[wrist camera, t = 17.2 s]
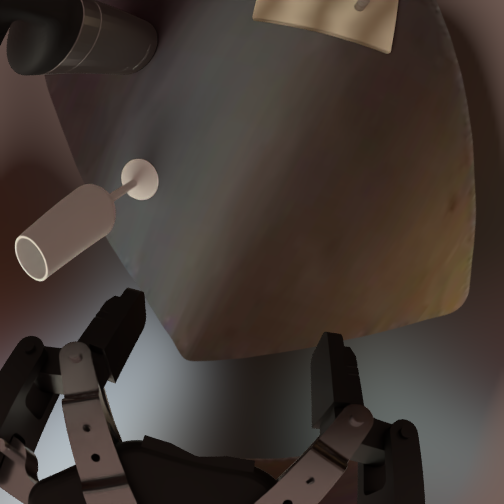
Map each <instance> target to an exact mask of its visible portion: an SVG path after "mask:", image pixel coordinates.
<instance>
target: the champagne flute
mask: <svg viewBox="0 0 504 504" xmlns="http://www.w3.org/2000/svg"><path fill="white" fill-rule="evenodd" d="M121 180H122V185H123V186H121V187H120V188H118V189H116V190H115V191H113V192H112V193H110V194H109V193H108V192H107V191H106V190H105V189H103V188H101V187H100V186H97V185H93V184H86V185H82V186H80V187H78V188H77V189H75V190H74V191H73V192H71V193H70V194H69V195H68V196H66V197H65V198H64V199H62V200H61V201H60V202H59V203H57V204H56V205H55V206H54V207H52V208H51V209H50V210H49V211H47V212H46V213H45V214H44V215H43V216H42V217H40V218H39V219H38V220H37V221H36V222H34V223H33V224H32V225H31V226H30V227H29V228H28V229H27V230H25V231H24V232H23V233H22V234H21V235H20V236H19V237H18V238H17V239H16V242H15V251H16V255H17V258H18V261H19V263H20V265H21V266H22V268H23V269H24V271H26V273H27V274H28V275H29V276H30V277H32V278H33V279H35V280H37V281H43V280H45V279H46V278H47V277H49V276H50V275H51V274H53V273H54V272H55V271H56V270H58V269H59V268H61V267H62V266H63V265H64V264H66V263H67V262H69V261H70V260H71V259H73V258H74V257H75V256H77V255H78V254H80V253H81V252H82V251H84V250H85V249H86V248H88V247H89V246H91V245H92V244H93V243H95V242H96V241H98V240H99V239H101V238H102V237H104V236H105V235H107V234H108V233H109V232H110V231H111V229H112V227H113V225H114V222H115V216H116V210H115V204H114V201H115V200H116V199H118V198H119V197H121V196H122V195H124V194H125V193H128V194H129V195H130V196H131V197H133V198H135V199H138V200H146V199H149V198H150V197H152V196H153V195H154V194H155V192H156V191H157V188H158V184H159V179H158V174H157V172H156V170H155V168H154V167H153V166H152V164H150V163H149V162H148V161H146V160H143V159H134V160H131V161H130V162H128V163H127V164H126V165H125V167H124V168H123V171H122V176H121Z"/></svg>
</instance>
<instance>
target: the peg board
mask: <svg viewBox="0 0 504 504" xmlns="http://www.w3.org/2000/svg"><path fill="white" fill-rule="evenodd" d="M397 8H398V0H256V4H255V8H254V13H253V17H252V18H253V20H254V21H261V22H268V23H274V24H280V25H286V26H292V27H297V28H301V29H306V30H310V31H315V32H319V33H323V34H327V35H331V36H334V37H338V38H341V39H345V40H348V41H351V42H354V43H357V44H361V45H363V46H366V47H369V48H372V49H375V50H378V51H380V52H383V53H386V54H388V53H391V47H392V42H393V35H394V29H395V22H396V15H397Z"/></svg>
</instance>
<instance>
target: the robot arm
mask: <svg viewBox="0 0 504 504" xmlns="http://www.w3.org/2000/svg"><path fill="white" fill-rule="evenodd" d="M9 27H10V29H9ZM8 29H9V34H8V39H7V57H8V62H9V64H10V66H11V68H12V69H13V70H14V71H15V72H16V73H18V74H21V75H43V74H62V73H95V74H117V75H128V74H132V73H135V72H137V71H139V70H140V69H142V68H143V67H144V66H145V65H146V64H147V63H148V62H149V61H150V60H151V58H152V57H153V55H154V53H155V50H156V47H157V33H156V30H155V28H154V27H153V26H152V25H151V24H150V23H149V22H147V21H145V20H143V19H141V18H138V17H136V16H134V15H132V14H129V13H127V12H125V11H122V10H120V9H117V8H115V7H112V6H110V5H107V4H104V3H101V2H99V1H96V0H0V45H1V43H2V41H3V39H4V37H5V35H6V33H7V31H8ZM145 322H146V309H145V296H144V292H142V291H139V290H135V289H131V288H127V289H126V290H125V291H124V292H123V294H122V295H121V296H120V297H118V296H114V297H112V298H111V299H109V300H108V301H106V302H105V304H104V305H103V306H102V308H101V309H100V311H99V312H98V313H97V314H96V317H95V318H94V319H93V320H92V321H91V323H90V324H89V326H88V327H87V329H86V330H85V331H84V333H83V334H82V336H81V337H80V339H79V340H78V341H77V342H70V343H68V344H66V345H65V346H64V347H63V348H54V347H46V346H44V345H43V342H42V341H41V340H40V339H39V338H37V337H35V336H28V337H25V338H23V339H22V340H21V341H20V342H19V343H18V344H17V346H16V347H15V349H14V350H13V352H12V353H11V355H10V356H9V358H8V359H7V361H6V363H5V364H4V366H3V367H2V369H1V371H0V487H1V488H2V489H3V490H5V491H6V492H8V493H9V494H10V495H12V496H13V497H15V498H16V499H18V500H19V501H21V502H22V503H24V504H318V503H319V502H320V501H321V499H322V498H323V497H324V496H325V495H326V494H327V492H328V491H329V490H330V489H331V488H332V486H333V485H334V484H335V483H336V481H337V480H338V479H339V478H340V476H341V475H342V474H343V473H344V471H345V470H346V468H347V466H348V464H347V463H348V461H349V460H353V461H356V462H358V497H357V504H425V494H424V480H423V470H422V460H421V452H420V444H419V437H418V432H417V429H416V427H415V426H414V424H413V423H411V422H410V421H408V420H404V419H402V420H397V421H396V422H394V423H393V424H389V423H386V422H383V421H380V420H377V419H375V418H373V415H372V414H371V412H370V410H369V409H368V408H366V407H365V406H364V403H363V396H362V390H361V384H360V378H359V372H358V368H357V360H356V356H355V354H354V353H353V351H352V350H351V348H350V347H345V346H344V343H343V337H342V335H341V334H337V333H330V332H324V333H323V335H322V337H321V339H320V341H319V343H318V345H317V347H316V349H315V351H314V353H313V356H312V359H311V396H312V397H311V398H312V428H316V429H320V436H319V437H318V438H317V439H316V440H315V441H314V442H313V443H312V444H311V446H310V447H309V448H308V449H307V450H306V451H305V452H304V453H303V454H302V455H301V456H300V457H299V458H298V459H297V460H296V461H295V462H294V463H293V464H292V465H291V466H290V467H289V468H288V469H287V470H286V471H285V472H284V473H283V474H282V475H281V476H280V477H279V478H278V479H276V480H275V479H274V478H273V477H272V476H271V475H270V474H268V473H266V472H265V471H263V470H261V469H259V468H257V467H254V463H255V461H253V460H246V459H240V458H233V457H228V456H226V457H225V456H224V457H198V456H194V455H193V454H191V453H189V452H187V451H184V450H183V449H181V448H179V447H177V446H175V445H173V444H171V443H169V442H165V441H162V440H159V439H155V438H152V437H149V436H146V435H145V436H144V439H143V441H142V440H132V441H125V442H122V440H121V437H120V435H119V432H118V430H117V427H116V425H115V422H114V419H113V416H112V413H111V409H110V406H109V402H108V399H107V395H106V392H105V388H104V386H105V384H106V382H107V380H108V381H111V382H113V383H116V381H117V379H118V377H119V375H120V373H121V371H122V369H123V367H124V365H125V363H126V361H127V359H128V357H129V355H130V353H131V351H132V350H133V347H134V346H135V343H136V342H137V340H138V338H139V336H140V334H141V333H142V331H143V329H144V326H145ZM60 394H63V395H64V399H62V408H63V413H64V418H65V423H66V428H67V432H68V436H69V441H70V445H71V449H72V452H73V456H74V459H75V463H76V465H74V466H72V467H69V468H67V469H65V470H63V471H61V472H59V473H56V474H54V475H52V476H49V477H47V478H45V479H42V480H40V481H39V480H38V477H37V472H38V460H37V458H36V456H35V454H34V451H35V449H36V446H37V444H38V441H39V439H40V437H41V434H42V432H43V430H44V427H45V425H46V423H47V420H48V418H49V416H50V414H51V412H52V410H53V408H54V405H55V403H56V401H57V399H58V397H59V395H60Z"/></svg>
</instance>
